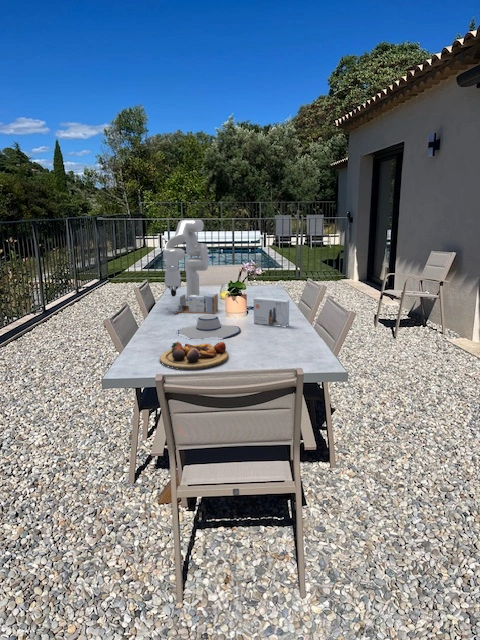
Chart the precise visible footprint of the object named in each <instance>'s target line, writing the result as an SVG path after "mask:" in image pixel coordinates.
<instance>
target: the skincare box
mask: <svg viewBox="0 0 480 640" xmlns="http://www.w3.org/2000/svg"><path fill="white" fill-rule="evenodd" d="M254 323H258V324H257V325H261V324H269V325H280V326H287V325H289V326H290V299H283V298H272V297H262V296H256V297H254V298H253V324H254ZM269 325H268V326H269Z"/></svg>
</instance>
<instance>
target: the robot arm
mask: <svg viewBox="0 0 480 640" xmlns="http://www.w3.org/2000/svg"><path fill="white" fill-rule="evenodd" d="M204 226H205V225H204V222H203V220H201V219H181V220H180V221H178V223H177V227H176V230H175V234H174V235H173V236H172V237H171V238H169V239H168V240H167V241H166V243H165V245H164V248H163V252H162V255H163V258H164V259H165V260H166V266H164V269H166V270H165V271H164V272H165V274H164V285H165V288H167V289H169V290H170V294H171V295H170V296H171V297H176V296H177V290H178V289H179V288H180V289H181V287H182V278H181V276H182V275H181V272H180V269H179V261H180V260H181V261H182V260H183V259H185V256H189V257H188V258H186V259H185V260H184V269H185V275H186V295H187V296H185V298H186V301H188V297H189V296H190V295H201V294H200V276H199V274H198V272H200V271H201V272H205V271H208V268H209V256H208V255H209V251H208V246H207V244H206V243H203V242H198V235H197V233H199V232H202V231H203V230H204V228H205V227H204ZM184 243H185V250H184V249H183V248H174V247H176V246H179V245H183V244H184ZM185 251H186V252H185Z"/></svg>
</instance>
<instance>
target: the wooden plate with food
mask: <svg viewBox="0 0 480 640" xmlns="http://www.w3.org/2000/svg"><path fill="white" fill-rule="evenodd" d="M226 349H227V347H226V343H225V342H224V341H220V342H217V343H216V344H215V345H212V344H211V343H200V344H190V343H185V344H184V345H182V343H181V342H179V341H176V342H172V345H171V349H169V350H166V351H165V352H163V353H162V354H161V355H160V356H159V361H160V364H161V363H163V364H164V365H166V366H169V367H173V368H178V369H198V370H202V369H201V368H206V369H208V368H207V367H210V368H212V367H211V366H214V367H216V366H215V365H217V366H219V365H218V364H220V365H221V363H222V364H224V363H225V362H226V361H227V360H228V359H229V352H228V351H227V350H226ZM164 365H163V366H164ZM166 366H165V367H166ZM178 369H177V370H178Z"/></svg>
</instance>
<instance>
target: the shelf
mask: <svg viewBox="0 0 480 640" xmlns="http://www.w3.org/2000/svg"><path fill="white" fill-rule="evenodd" d="M214 294H215V295H214V296H213V297H212V311H213V313H206V311H205V312H204V313H201V312H189V305H186V310H184V311H183V312H177V311H178V310H179V309H180V304H179V305H178V309H177V310H176V311H175V312H174V313H173V314H174V315H180V314H194V315H195V314H201V315H216V313H217V312H218V310H219V301H218V300H219V297H218V295H219V294H218V293H214Z"/></svg>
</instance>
